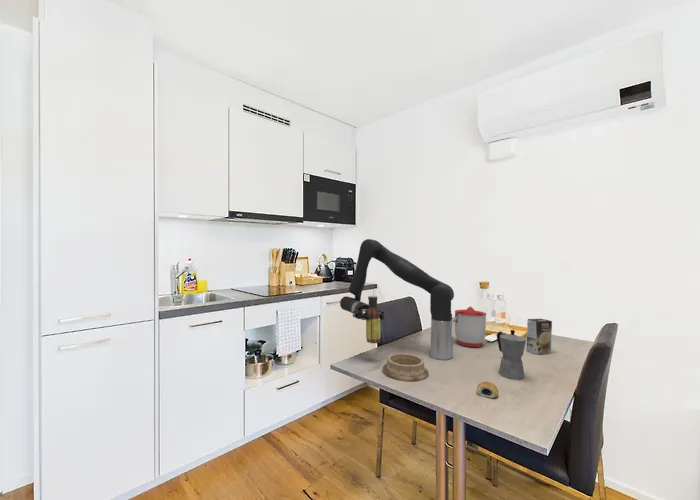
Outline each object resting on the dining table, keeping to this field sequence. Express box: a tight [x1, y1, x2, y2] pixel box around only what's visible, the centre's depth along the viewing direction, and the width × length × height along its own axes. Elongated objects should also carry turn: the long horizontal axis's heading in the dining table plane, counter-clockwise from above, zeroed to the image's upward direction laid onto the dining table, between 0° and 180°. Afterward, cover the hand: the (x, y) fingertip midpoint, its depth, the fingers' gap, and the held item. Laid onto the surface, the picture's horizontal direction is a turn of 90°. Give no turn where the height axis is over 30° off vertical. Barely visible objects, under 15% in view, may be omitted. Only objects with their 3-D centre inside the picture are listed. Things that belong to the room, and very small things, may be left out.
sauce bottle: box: [365, 295, 382, 344], centre depth 138 cm, size 7×6×20 cm
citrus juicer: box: [452, 306, 487, 348], centre depth 167 cm, size 16×17×20 cm
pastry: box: [476, 381, 499, 399], centre depth 110 cm, size 9×7×4 cm
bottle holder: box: [382, 352, 429, 382], centre depth 126 cm, size 18×18×5 cm
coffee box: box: [525, 318, 553, 356], centre depth 156 cm, size 9×6×16 cm
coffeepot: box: [496, 329, 527, 381], centre depth 127 cm, size 15×9×18 cm, turn 13°
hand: (375, 317), depth 136 cm, fingers closed on sauce bottle, 6 cm apart
